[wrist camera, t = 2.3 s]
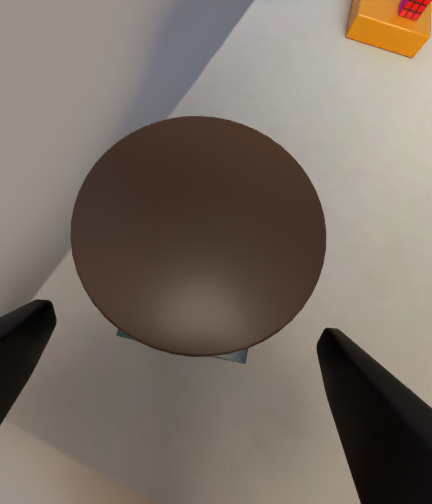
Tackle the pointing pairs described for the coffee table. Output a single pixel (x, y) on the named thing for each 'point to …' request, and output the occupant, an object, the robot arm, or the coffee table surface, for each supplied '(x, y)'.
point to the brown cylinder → (198, 236)
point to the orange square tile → (391, 24)
